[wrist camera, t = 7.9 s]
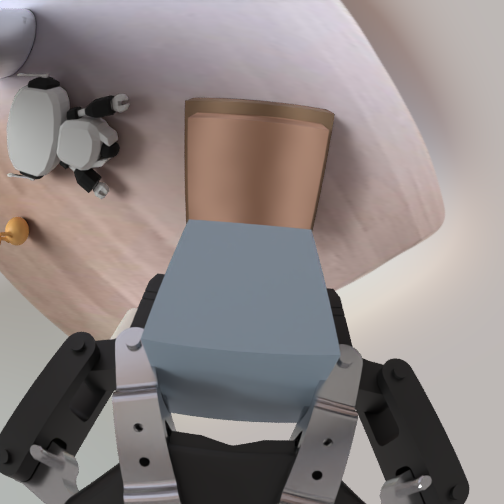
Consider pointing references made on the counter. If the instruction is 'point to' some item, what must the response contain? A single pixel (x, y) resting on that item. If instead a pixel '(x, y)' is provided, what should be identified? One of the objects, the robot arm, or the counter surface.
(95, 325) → the counter surface
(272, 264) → the slate brick
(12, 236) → the figurine
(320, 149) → the wooden stepped block
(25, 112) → the robot toy
